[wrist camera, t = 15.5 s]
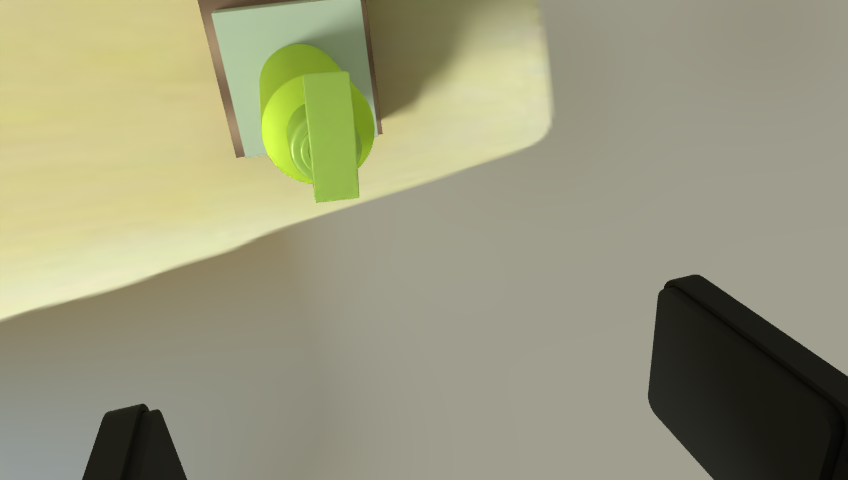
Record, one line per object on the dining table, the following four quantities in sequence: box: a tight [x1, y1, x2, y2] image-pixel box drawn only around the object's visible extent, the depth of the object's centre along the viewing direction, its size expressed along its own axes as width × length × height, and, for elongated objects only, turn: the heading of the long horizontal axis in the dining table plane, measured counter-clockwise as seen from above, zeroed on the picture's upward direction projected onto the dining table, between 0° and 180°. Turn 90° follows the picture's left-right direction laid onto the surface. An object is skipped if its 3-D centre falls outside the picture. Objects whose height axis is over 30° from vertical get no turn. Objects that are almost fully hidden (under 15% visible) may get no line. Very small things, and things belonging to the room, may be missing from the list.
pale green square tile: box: [211, 0, 378, 158], centre depth 43 cm, size 10×10×4 cm
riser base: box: [198, 0, 382, 158], centre depth 47 cm, size 12×12×4 cm
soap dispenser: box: [259, 44, 375, 203], centre depth 33 cm, size 6×7×20 cm
